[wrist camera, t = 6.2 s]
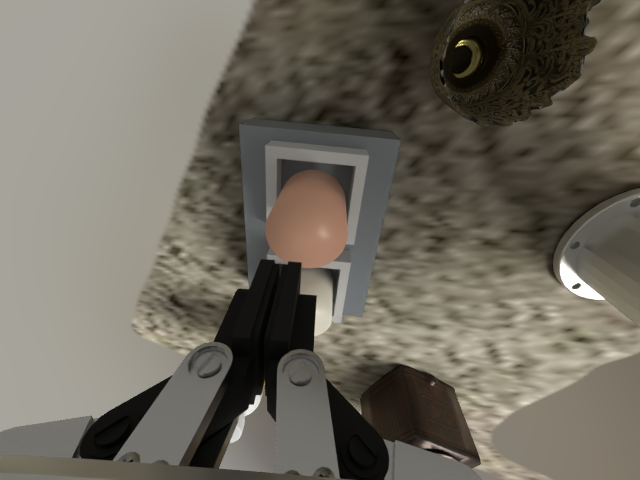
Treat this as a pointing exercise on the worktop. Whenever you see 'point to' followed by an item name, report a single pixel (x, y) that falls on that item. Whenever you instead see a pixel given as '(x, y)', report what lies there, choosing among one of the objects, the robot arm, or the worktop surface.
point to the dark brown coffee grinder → (419, 414)
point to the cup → (510, 56)
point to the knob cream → (319, 294)
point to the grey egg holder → (338, 161)
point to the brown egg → (308, 220)
